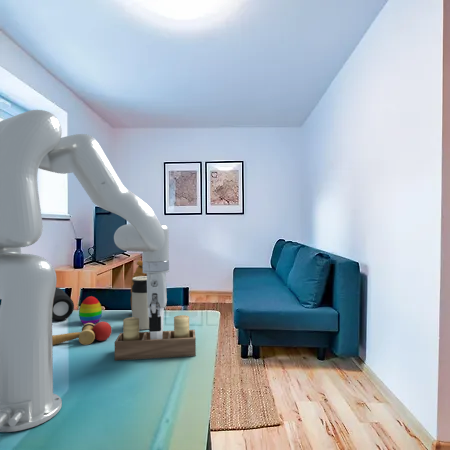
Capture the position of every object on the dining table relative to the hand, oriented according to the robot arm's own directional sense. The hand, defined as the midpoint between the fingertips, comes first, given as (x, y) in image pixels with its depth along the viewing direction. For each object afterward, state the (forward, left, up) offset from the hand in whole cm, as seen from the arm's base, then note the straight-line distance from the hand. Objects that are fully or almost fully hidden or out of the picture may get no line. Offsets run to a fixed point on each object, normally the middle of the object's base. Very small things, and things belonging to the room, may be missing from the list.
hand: (156, 325), depth 99 cm
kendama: (+13, +25, -8) cm, 29 cm away
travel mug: (+26, +7, -8) cm, 28 cm away
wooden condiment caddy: (0, 0, -8) cm, 8 cm away
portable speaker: (+49, +45, -8) cm, 67 cm away
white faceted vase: (0, 0, -7) cm, 7 cm away
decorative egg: (+35, +28, -8) cm, 46 cm away
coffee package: (+43, +9, -8) cm, 45 cm away
